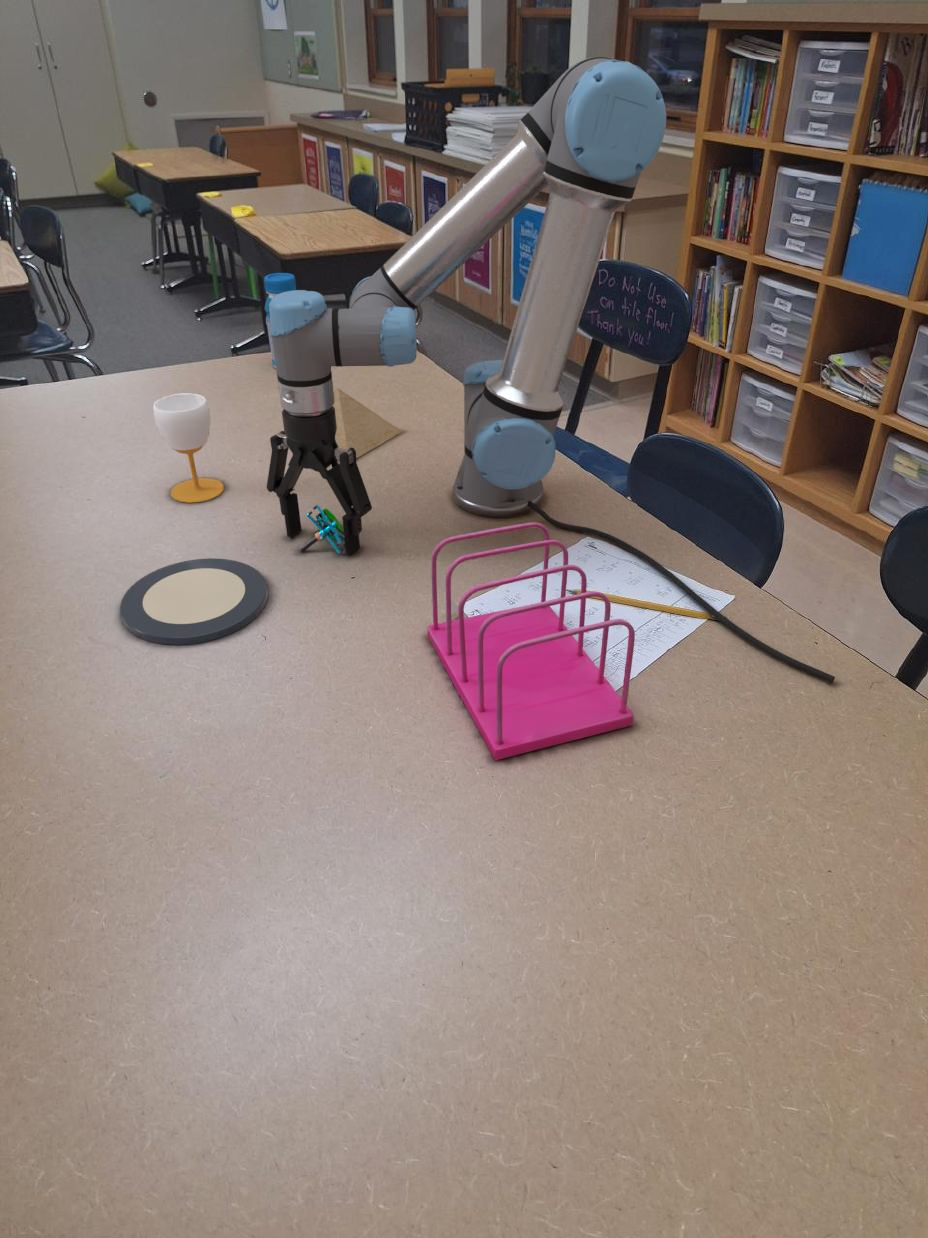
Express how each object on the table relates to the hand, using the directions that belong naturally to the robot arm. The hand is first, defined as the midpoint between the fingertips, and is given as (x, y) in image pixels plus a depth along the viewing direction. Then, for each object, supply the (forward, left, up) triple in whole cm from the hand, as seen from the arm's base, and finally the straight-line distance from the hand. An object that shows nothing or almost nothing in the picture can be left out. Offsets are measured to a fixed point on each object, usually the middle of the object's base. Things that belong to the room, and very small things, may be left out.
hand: (323, 542), depth 135 cm
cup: (+30, -4, 0) cm, 30 cm away
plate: (+6, +22, 0) cm, 23 cm away
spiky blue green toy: (0, 0, 0) cm, 0 cm away
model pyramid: (+21, -35, 0) cm, 41 cm away
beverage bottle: (+56, -63, 0) cm, 84 cm away
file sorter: (-42, +15, 0) cm, 45 cm away
